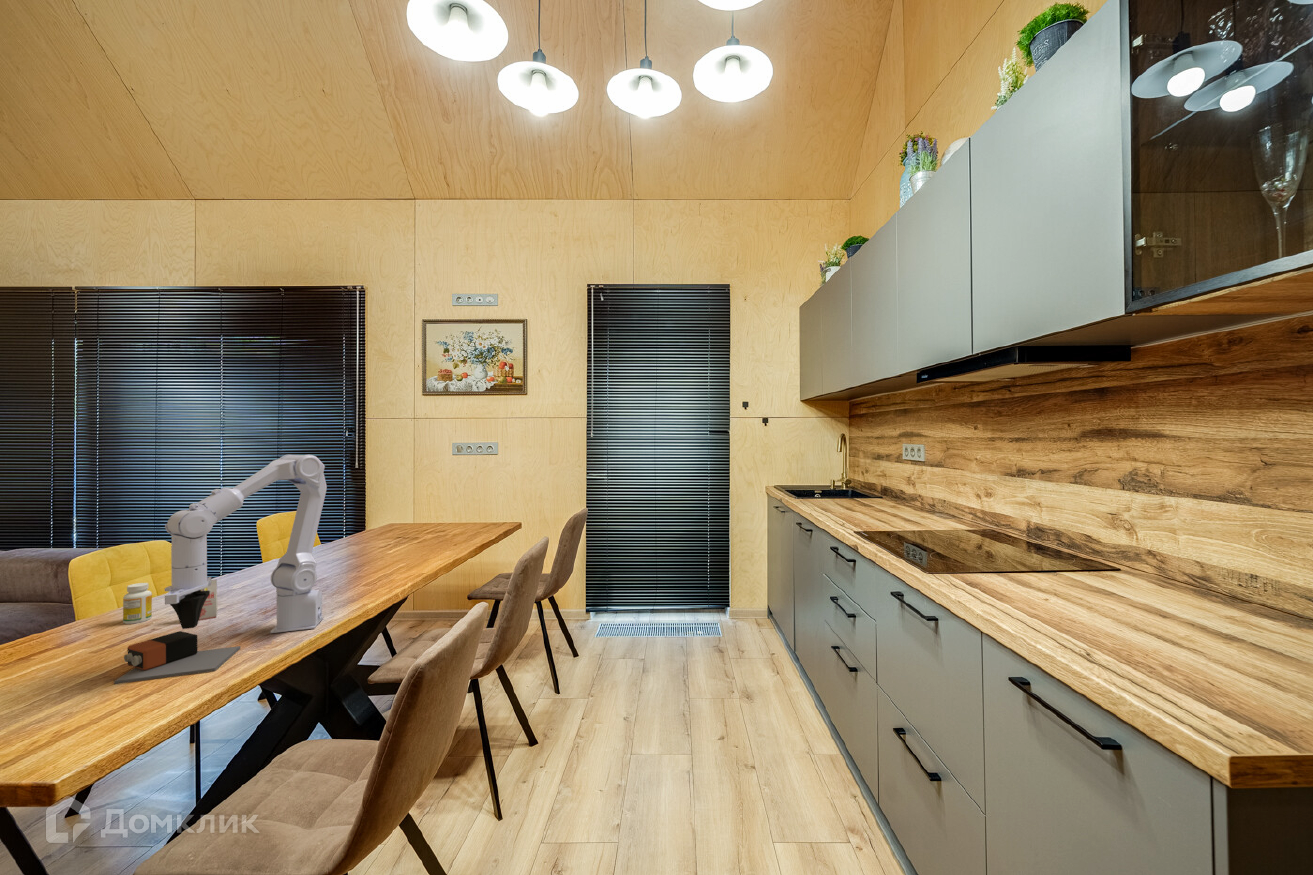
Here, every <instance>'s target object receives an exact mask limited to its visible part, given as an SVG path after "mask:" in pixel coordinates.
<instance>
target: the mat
mask: <svg viewBox="0 0 1313 875" xmlns="http://www.w3.org/2000/svg"><path fill="white" fill-rule="evenodd" d="M240 650H241V645H237V646H228V647H222V648H221V647H220V648H213V649H204V650H203V649H202V650H197V653H196V654H194V655H191V656H188V657H185V658H182V659H179V660H176V661H173V662H170V663H167V664H164V665H161V666H158V667H155V668H152V669H148V670H142V669H138V668H135V667H132V669H131V670H129V671H127V672H126V673H125V674H123V675H121V676H120V677H117V679H115V680H114V682H113V683H114V685H118V684H119V685H120V684H126V683H127V684H128V683H133V682H141V681H150V680H157V679H164V678H165V679H166V678H172V677H179V676H181V677H182V676H187V675H194V674H202V673H211V672H216V670H218V669H219V668H220V667H221V666H222V665H224V664H225V663H226V662H227V661H228V660H229V659H230V658H232V657H233V656H234V655H235V654H236V653H238V651H240Z"/></svg>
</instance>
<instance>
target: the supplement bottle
mask: <svg viewBox="0 0 1313 875" xmlns="http://www.w3.org/2000/svg"><path fill="white" fill-rule="evenodd" d="M149 584H150V583H149V582H138V583H133V584H129V585H127V587H126V591H127V593H126V594H124V596H123V598H122V609H123V610H122V617H123V618H122V623H123V624H125V625H134V624H141V623H143V622H146V621H149V620H151V618H152V617H153V616H152V615H153V614H152V610H153V608H152V607H153V600H152V599H153V592H152V591H151V590H148V589H149V588H150V586H149Z"/></svg>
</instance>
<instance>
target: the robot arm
mask: <svg viewBox="0 0 1313 875" xmlns="http://www.w3.org/2000/svg"><path fill="white" fill-rule="evenodd" d="M325 467H326V465H324V463H323V462H322V461H321V460H320V459H319V458H318V457H317V456H316V455H312V454H305V455H304V454H303V455H301V454H285V455H282V456H281V457H279V458H277V459H274V460H272V461H271V462H270V463H269V464H267V465H266V466H265V467H263V468H262V469H260V470H259V471H257V472H255V473H254V474H253V475H251V476H249V477H248V478H246V479H245V480H243V481H241V482H240V483H239V484H237V485H235V486H234V487H232V488H231V487H222V488H220V489H219V488H215V489H213V490H211V491H210V493H211V494H210V495H209V496H207V497H205V498H204V499H202V500H200V501H198V502H197V503H196V502H193V503H191V504H190V505H188V507H189V508H188V509H184V510H179V511H176V512H175V513H173V514H172V515H171V516H170V517H169V519H168V521H167V523H165V525H164V528H165V531H166V532H167V533H168V534H169V535H170V536H171V550H170V551H171V552H170V554H171V558H170V560H171V561H170V562H171V565H170V567H171V569H170V570H171V585H168V586H166V587H165V588H164V592H167V593H166V594H165V595H164V605H165V606H167V605H170V607H172V609H173V610H174V611H175V613H176V615H177V618H178V622H179V624H180V626H181V629H182V630H186V629H194V628H196V627H197V626H198V624H199V622H200V621H199V618H200V614H201V610H202V607H203V605H204V603H205V601H206V599H207V597H208V596H209V594H210V591H201V589H204V588H207V587H208V586H210V585H211V580H212V576H208V542H207V539H208V538H207V535H208V534H209V533H210V532H211V530H213V526H214V525H216V524H217V523H219V522H220V521H221V520H223V519H225V518H226V517H228V516H230V515H231V514H232V513H234V512H235V511H237V510H239V509H240V508H242V507H243V504H244V502H245V501H244V500H245V499H247V498H248V497H250V496H252V495H253V494H255V493H257V492H259V491H261V490H262V489H265V487H268V486H270V485H272V484H273V483H274V482H276V481H283V480H284V481H288V482H290V483H291V484H293V485H294V486H295V487H296V488H297V489H298V490H299V492H300V495H299V499H298V502H297V503H298V504H297V508H296V512H295V517H294V520H293V525H292V528H291V533H290V536H289V541H288V545H287V547H286V548H287V550H286V552H285V553H284V554H283V555H282V556H281V557H280V558H279V559H278V564H277V565H276V567H275V568H274V569H273V571H272V573H271V575H270V583H271V585H272V586H273V587H274V588H275V589H276V591H275V592H276V625H275V626H274V627H273V628H272V629H271V630H270V631H269V633H270V634H275V633H276V634H277V633H285V632H294V631H301V630H310V629H311V630H313V629H315V628H316V627H317V626H318V625H319V624H320V622H321V621H322V620H323V619H324V617H323V591H322V590H321V589H312V588H314V586H315V584H316V583H317V580H318V575H317V571H316V570H317V569H316V568H317V561H316V560H315V558H314V556H313V550H314V545H315V540H316V536H317V532H318V528H319V523H320V519H321V515H322V511H323V506H324V503H325V502H324V501H325V499H326V498H325V497H326V494H327V488H328V487H327V482H326V478H325V473H324V471H325Z"/></svg>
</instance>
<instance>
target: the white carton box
mask: <svg viewBox="0 0 1313 875" xmlns="http://www.w3.org/2000/svg"><path fill="white" fill-rule="evenodd" d="M217 581H218V580H217V579H211V585H210V586H208V587H207V588H204V589H201V591H210V594H209V596H208V597H207V599H206V601H205V603H204V605H203V607H202V610H201V614H200V618H199V621H198V622H200V621H206V620H210V619H217V617H218V583H217Z"/></svg>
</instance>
